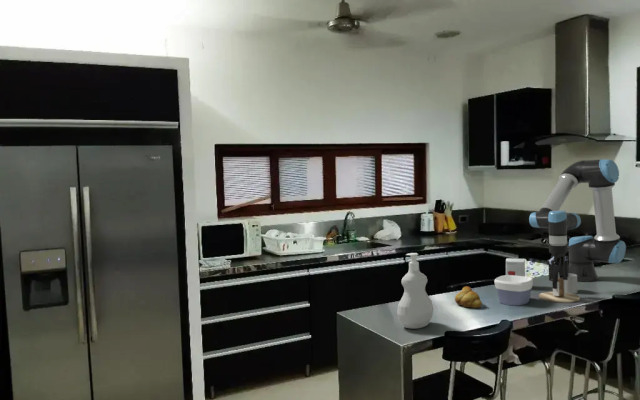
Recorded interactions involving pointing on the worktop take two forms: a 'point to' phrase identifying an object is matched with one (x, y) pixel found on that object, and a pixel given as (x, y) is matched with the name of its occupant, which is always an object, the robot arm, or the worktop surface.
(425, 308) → the soap bottle
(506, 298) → the bowl
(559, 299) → the lid
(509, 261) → the supplement box
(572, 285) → the cup
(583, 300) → the mat
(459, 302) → the bread roll
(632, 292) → the worktop surface
